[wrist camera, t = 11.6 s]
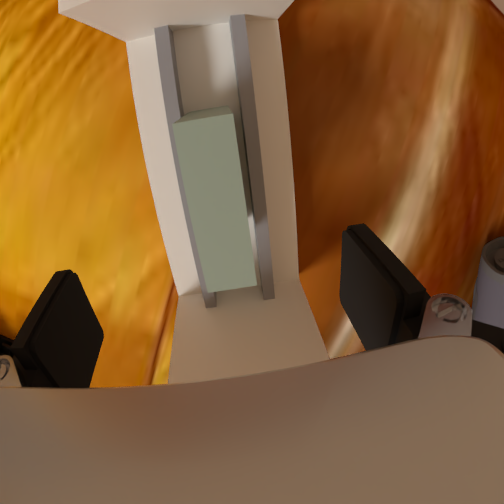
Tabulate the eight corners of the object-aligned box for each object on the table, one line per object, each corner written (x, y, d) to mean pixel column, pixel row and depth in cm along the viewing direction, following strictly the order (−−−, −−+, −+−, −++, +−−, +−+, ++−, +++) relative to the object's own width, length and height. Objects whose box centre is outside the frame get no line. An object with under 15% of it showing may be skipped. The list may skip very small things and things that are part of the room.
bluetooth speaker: (490, 331, 45) (518, 367, 36) (452, 353, 46) (479, 394, 37) (506, 224, 34) (553, 259, 25) (462, 247, 35) (509, 289, 26)
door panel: (189, 111, 23) (172, 124, 14) (227, 105, 23) (233, 113, 14) (210, 225, 28) (207, 292, 19) (244, 220, 28) (257, 285, 19)
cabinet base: (131, 35, 21) (58, -4, 9) (272, 13, 21) (321, -48, 9) (182, 292, 33) (170, 401, 21) (295, 276, 34) (333, 379, 22)
